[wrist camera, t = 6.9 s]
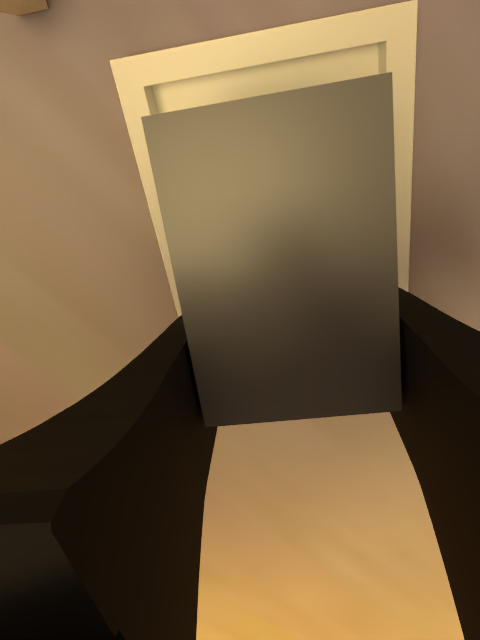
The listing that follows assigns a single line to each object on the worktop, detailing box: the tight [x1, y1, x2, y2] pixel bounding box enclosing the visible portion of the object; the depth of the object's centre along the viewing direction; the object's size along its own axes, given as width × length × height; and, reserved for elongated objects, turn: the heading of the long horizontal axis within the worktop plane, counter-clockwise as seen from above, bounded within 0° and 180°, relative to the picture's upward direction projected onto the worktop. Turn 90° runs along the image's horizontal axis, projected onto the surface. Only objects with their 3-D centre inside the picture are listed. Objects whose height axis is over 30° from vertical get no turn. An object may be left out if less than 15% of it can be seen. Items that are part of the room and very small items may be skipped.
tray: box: [110, 0, 418, 317], centre depth 15 cm, size 11×9×2 cm
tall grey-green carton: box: [141, 72, 402, 427], centre depth 10 cm, size 6×4×5 cm, turn 10°
